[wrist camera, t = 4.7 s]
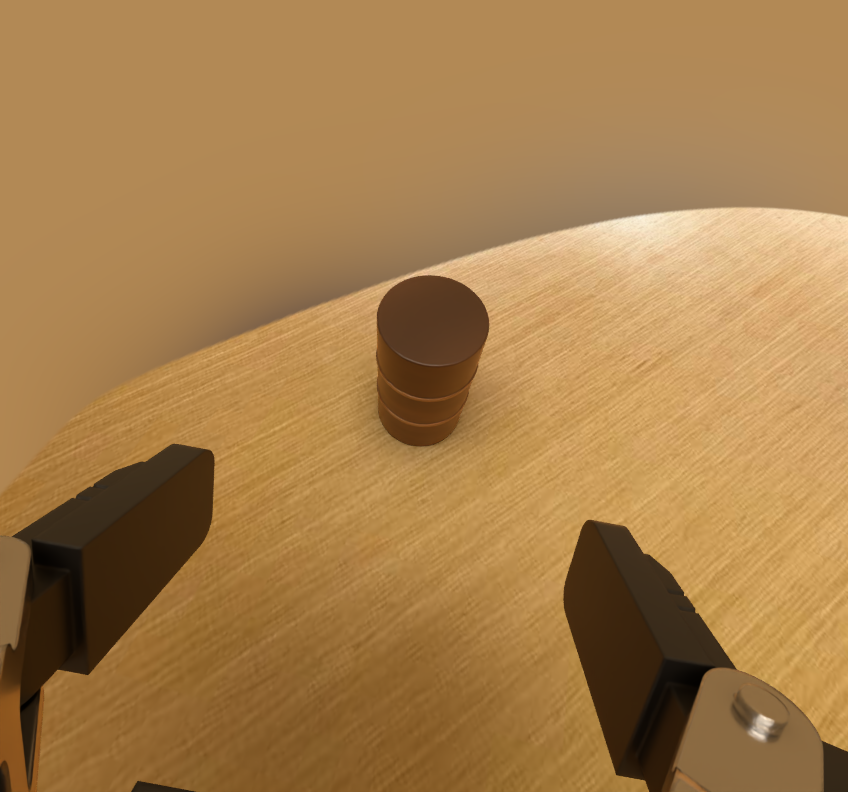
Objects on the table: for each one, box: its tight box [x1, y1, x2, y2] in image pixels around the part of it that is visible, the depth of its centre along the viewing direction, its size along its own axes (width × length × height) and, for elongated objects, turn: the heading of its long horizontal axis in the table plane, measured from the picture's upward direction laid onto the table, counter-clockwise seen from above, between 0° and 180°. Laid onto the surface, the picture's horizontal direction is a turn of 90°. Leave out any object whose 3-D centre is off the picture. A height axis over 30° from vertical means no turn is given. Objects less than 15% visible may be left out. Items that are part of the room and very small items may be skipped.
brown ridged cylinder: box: [376, 275, 489, 446], centre depth 22 cm, size 4×4×8 cm
